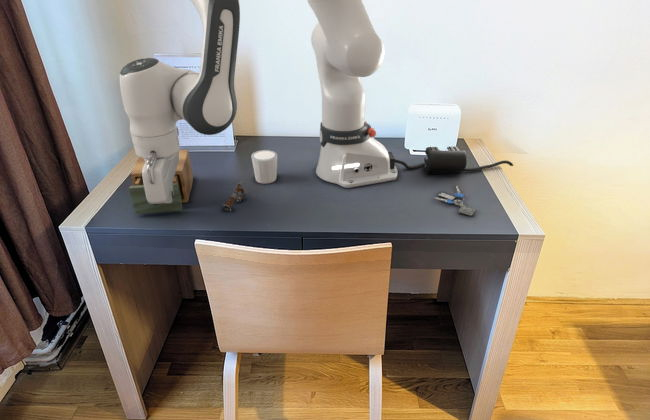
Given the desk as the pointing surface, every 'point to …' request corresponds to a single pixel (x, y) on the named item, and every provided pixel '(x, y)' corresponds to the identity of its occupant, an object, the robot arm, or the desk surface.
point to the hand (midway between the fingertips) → (169, 200)
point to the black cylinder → (445, 160)
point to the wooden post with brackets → (234, 195)
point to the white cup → (265, 166)
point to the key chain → (463, 208)
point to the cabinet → (182, 170)
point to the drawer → (145, 207)
